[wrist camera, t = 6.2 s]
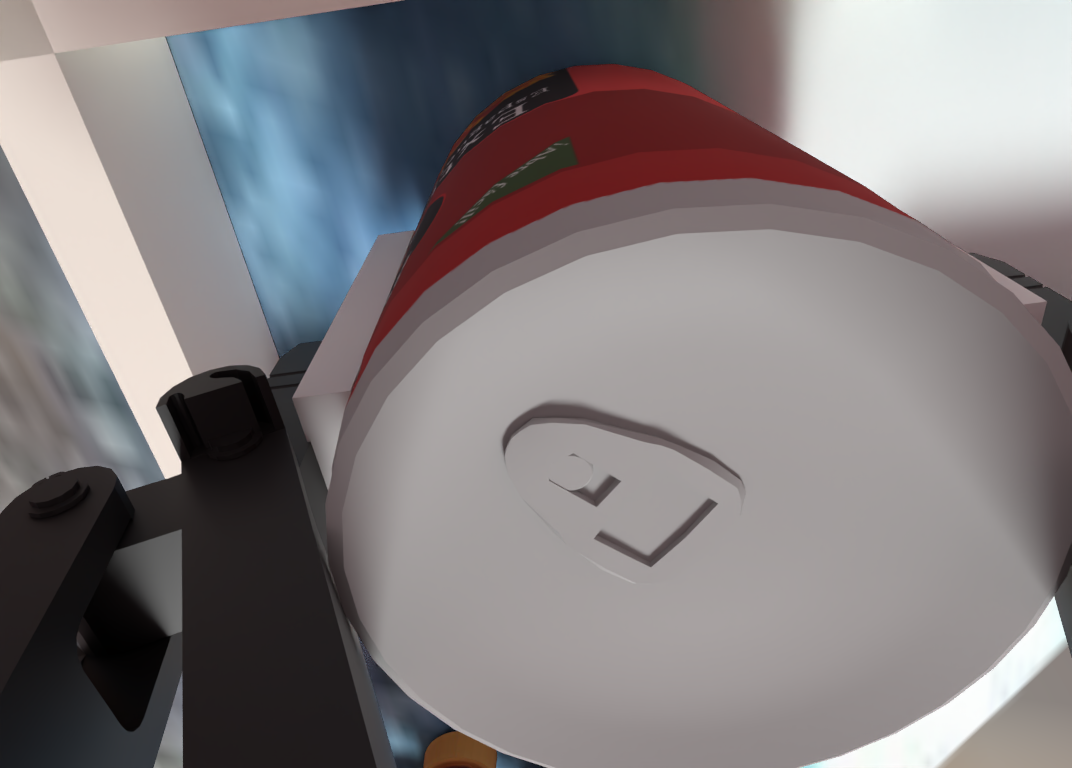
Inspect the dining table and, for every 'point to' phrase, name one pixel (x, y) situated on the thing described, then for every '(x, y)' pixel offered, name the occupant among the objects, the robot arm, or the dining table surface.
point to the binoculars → (459, 752)
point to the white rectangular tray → (134, 186)
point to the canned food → (689, 445)
